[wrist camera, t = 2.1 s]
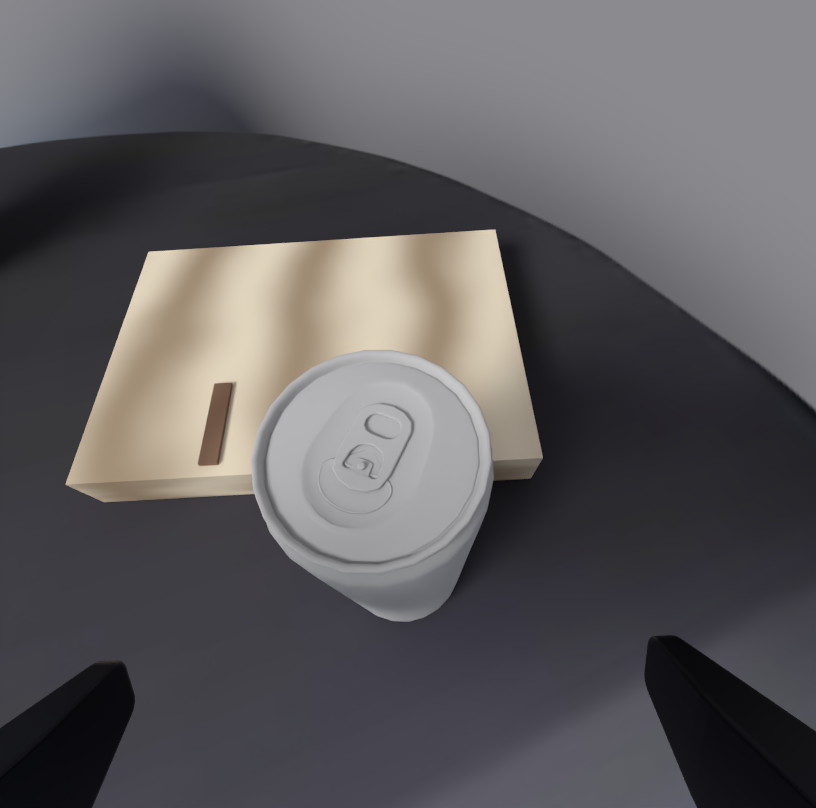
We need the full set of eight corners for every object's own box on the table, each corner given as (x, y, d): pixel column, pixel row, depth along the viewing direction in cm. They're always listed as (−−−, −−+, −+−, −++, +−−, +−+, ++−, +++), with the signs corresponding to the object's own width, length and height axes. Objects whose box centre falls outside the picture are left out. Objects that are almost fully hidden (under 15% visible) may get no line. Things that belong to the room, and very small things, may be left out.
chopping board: (489, 263, 27) (495, 226, 25) (531, 478, 20) (544, 456, 18) (170, 283, 27) (146, 249, 25) (104, 502, 20) (61, 483, 18)
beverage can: (327, 591, 18) (189, 512, 8) (377, 488, 20) (322, 317, 10) (434, 644, 17) (441, 637, 7) (476, 530, 19) (532, 387, 9)
